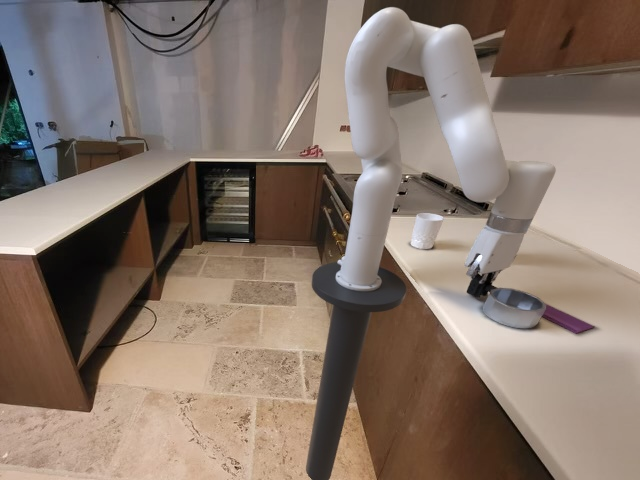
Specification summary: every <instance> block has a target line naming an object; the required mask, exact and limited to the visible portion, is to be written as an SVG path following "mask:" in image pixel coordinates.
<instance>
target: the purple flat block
mask: <svg viewBox="0 0 640 480" xmlns="http://www.w3.org/2000/svg"><path fill="white" fill-rule="evenodd" d="M541 318H544V319H546V320H548V321H549V322H552V323H554V324H556V325H558V326H559V327H562V328H564V329H566V330H568V331H570V332H571V333H574V334H580V333H582V332H585V331H588V330H591V329H594V328H595V325H592V324H590V323H588V322H585V321H583V320H581V319H580V318H577V317H575V316H573V315H570V314H568V313H566V312H564V311H562V310H559V308H558V309H557V308H555V307H553V306H551V305H549V304H547V303H546V310H545V312H544V313H543V315H542V317H541Z"/></svg>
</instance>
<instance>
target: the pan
mask: <svg viewBox="0 0 640 480" xmlns="http://www.w3.org/2000/svg"><path fill="white" fill-rule="evenodd" d="M484 284H486V285H485V287H484V290H486V291H488V294H487V297H486V300H485V302H484V304H483V307H482V312H483V313H484V315H486V316H487V317H488V318H489V319H490V320H492V321H494V322H497V323H499V324H500V325H503V326H507V327H511V328H514V329H515V328H516V329H532V328H534V327H536V326H537V325H538V324H539V322H540V320H541V319H542V318H543V317H542V315H543V313H544V312H545V310H546V304H547V303H546V302H545V301H544V300H542V299H541V298H540V297H538V296H536V295H534V294H532V293H529V292H527V291H524V290H520V289H517V288H509V287H497V286H495V285H493V284H492V285H491V284H489V283H487V282H484Z"/></svg>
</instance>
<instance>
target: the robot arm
mask: <svg viewBox="0 0 640 480" xmlns="http://www.w3.org/2000/svg"><path fill="white" fill-rule="evenodd" d="M388 68H391V69H395V70H398V71H401V72H405V73H407V74H411V75H414V76H418V77H422V78H424V81H425V85H426V88H427V91H428V93H429V96H430V100H431V102H432V106H433V110H434V112H435V115H436V118H437V121H438V125H439V128H440V131H441V133H442V136H443V138H444V140H445V141H446V144H447V146H448V148H449V152H450V154H451V158H452V161H453V163H454V167H455V170H456V173H457V176H458V179H459V183H460V186H461V189H462V193H463V194H464V196H465V197H466V198H467V199H468V200H470V201H472V202H476V203H488V202H490V201H494V202H493V205H492V208H491V210H490V213H489V216H488V217H487V220H486V222H485V225H484V227H483V228H482V229H481V231H480V232H479V234H478V235H477V237H476V239H475V241H474V242H473V244H472V246H471V248H470V250H469V252H468V255H467V257H466V259H465V261H464V262H465V263H464V267H466V268H468V269H467V272H466V273H465V275H466V276H468V277H470V282H469V284H468V286H467V289H466V291H465V292H466V293H467V294H468V295H469V296H472V297H474V298H475V299H479V298H481V296H482V297H488V295H489V292H488V291H486V290H484V287H485V285H486V284H484V282H487V283H489V284H491V285H493V282H495V281H496V279H497V277H498V275H499V274H500V273H501V272H503V271H504V270H506V269H508V268H509V267H511V266H512V264H513V263H514V260H515V259H516V257H517V255H518V253H519V251H520V247H521V245H522V243H523V240H524V237H525V235H526V234H527V233H528V230H529V228H530V227H531V224H532V222H533V220H534V218H535V216H536V214H537V212H538V210H539V207H540V206H541V204H542V201H543V199H544V197H545V195H546V194H547V191H548V189H549V188H550V185H551V184H552V181H553V179H554V177H555V174H556V171H557V169H556V166H555V165H554V164H552V163H550V162H549V163H548V162H544V161H535V160H520V161H515V160H508V159H506V158H505V155H504V150H503V146H502V143H501V140H500V137H499V134H498V131H497V126H496V124H495V120H494V115H493V111H492V106H491V103H490V100H489V97H488V92H487V89H486V85H485V81H484V78H483V76H482V72H481V68H480V64H479V61H478V57H477V53H476V50H475V46H474V43H473V39H472V37H471V34H470V32H469V30H468V29H467V28H466V27H465V26H464V25H462V24H459V23H454V24H453V23H452V24H448V25H445V26H442V27H437V26H433V25H429V24H425V23H422V22H418V21H414V20H411V19H410V17H409V16H408V14H407V13H406V12H405V11H404V10H403V9H402V8H399V7H395V6H390V7H385V8H383V9H380V10H379V11H377V12H375V13H374V14H372V16H371V17H369V18H368V19H367V20H366V22H365V23H364V24H363V25H362V26H361V28H360V29H359V30H358V32H357V33H356V35H355V36H354V38H353V39H352V42H351V44H350V47H349V49H348V53H347V55H346V59H345V64H344V88H345V89H344V90H345V96H346V97H345V98H346V104H347V115H348V122H349V129H350V137H351V145H352V150H353V153H354V154H355V155H356V156H357V158H359V159H360V161H361V169H362V173H361V174H360V176H359V177H358V179H357V181H356V184H355V187H354V192H353V198H352V199H353V200H352V210H351V217H350V223H349V230H348V235H347V239H346V246H345V253H344V256H342V257H341V259H338V260H337V261H336V262H337V263H338V264H339V265H341V270H340V271H338V272H337V273H336V281H337V282H338V283H339V284H340V285H341V286H343V287H345V288H347V289H351V290H355V291H373V290H376V289H378V288H379V287H380V286H381V282H382V280H381V278H380V277H379V276H378V275H377V273H378V269H379V267H380V265H381V261H382V256H383V252H384V248H385V245H386V241H387V235H388V233H389V232H388V231H389V228H390V224H391V220H392V219H391V218H392V214H393V210H394V206H395V202H396V198H397V194H398V191H399V188H400V185H401V183H402V179H403V166H402V154H401V145H400V133H399V127H398V123H397V122H396V120H395V119H394V117H393V116H391V112H390V111H391V110H390V103H389V89H388V81H387V69H388Z"/></svg>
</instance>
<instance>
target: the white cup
mask: <svg viewBox="0 0 640 480" xmlns="http://www.w3.org/2000/svg"><path fill="white" fill-rule="evenodd" d="M444 220H445V218H444V217H443V216H442V215H439V214H437V213H432V212H431V213H429V212H420V213H416V217H415V221H414V223H413V224H414V225H413V228H412V234H411V240H410V245H411V246H412V247H414V248H416V249H420V250H431V249H432V248H433V247H434V245H435V241H436V240H437V238H438V235H439V232H440V231H441V228H442V225H443V222H444Z"/></svg>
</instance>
